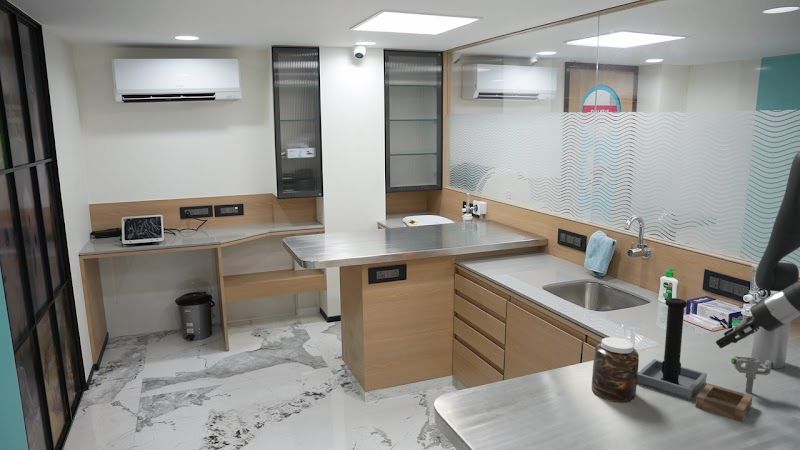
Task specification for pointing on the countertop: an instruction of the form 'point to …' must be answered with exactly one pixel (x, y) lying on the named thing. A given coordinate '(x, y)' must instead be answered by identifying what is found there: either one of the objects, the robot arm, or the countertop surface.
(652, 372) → the tray
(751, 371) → the mechanical component
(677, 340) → the tube
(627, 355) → the jar
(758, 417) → the countertop surface
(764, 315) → the robot arm
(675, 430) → the countertop surface
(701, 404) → the collar
